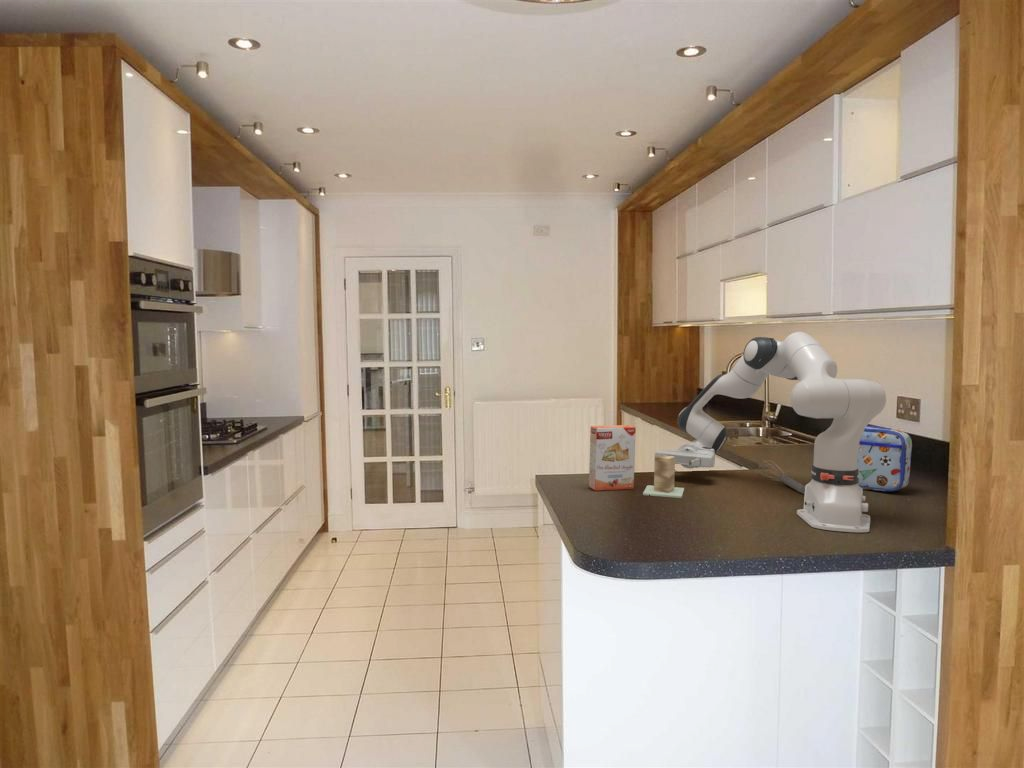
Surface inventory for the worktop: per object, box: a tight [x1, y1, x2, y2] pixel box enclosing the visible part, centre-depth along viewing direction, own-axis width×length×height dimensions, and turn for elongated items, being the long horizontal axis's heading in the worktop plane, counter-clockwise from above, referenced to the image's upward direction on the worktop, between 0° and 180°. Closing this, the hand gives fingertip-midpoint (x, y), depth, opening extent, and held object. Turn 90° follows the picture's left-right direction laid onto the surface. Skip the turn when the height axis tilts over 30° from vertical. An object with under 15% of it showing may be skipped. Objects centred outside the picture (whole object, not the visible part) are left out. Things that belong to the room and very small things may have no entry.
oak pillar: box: [653, 455, 676, 493], centre depth 220 cm, size 5×5×11 cm
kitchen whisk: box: [757, 460, 806, 496], centre depth 233 cm, size 6×34×6 cm, turn 5°
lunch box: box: [857, 424, 913, 492], centre depth 229 cm, size 28×10×22 cm, turn 43°
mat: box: [642, 485, 685, 499], centre depth 220 cm, size 12×12×1 cm
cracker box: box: [588, 424, 636, 492], centre depth 225 cm, size 14×6×21 cm, turn 105°
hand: (677, 461), depth 230 cm, fingers open, 8 cm apart
